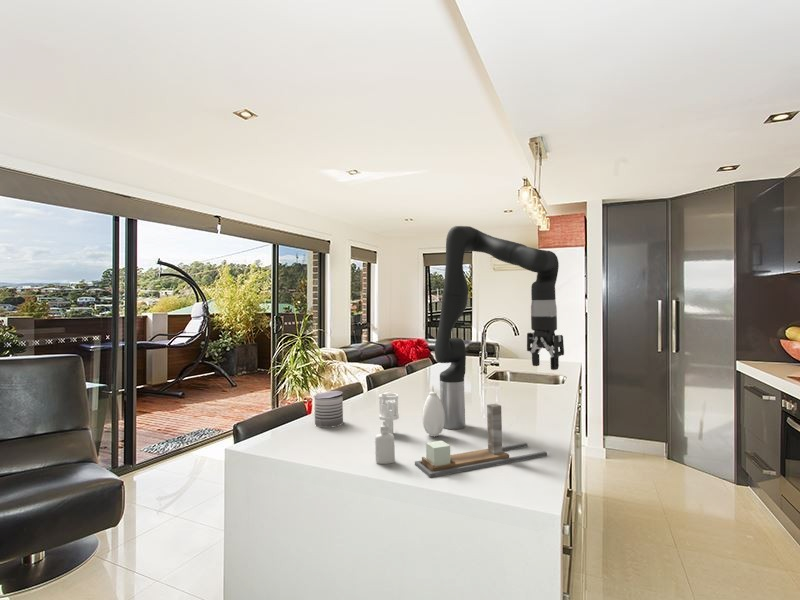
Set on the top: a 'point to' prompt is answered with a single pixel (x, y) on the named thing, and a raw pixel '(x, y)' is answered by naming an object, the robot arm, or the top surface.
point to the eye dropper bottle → (384, 446)
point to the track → (484, 464)
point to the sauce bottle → (433, 415)
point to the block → (438, 453)
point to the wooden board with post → (480, 455)
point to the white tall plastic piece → (389, 409)
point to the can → (328, 409)
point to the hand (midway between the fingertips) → (545, 367)
